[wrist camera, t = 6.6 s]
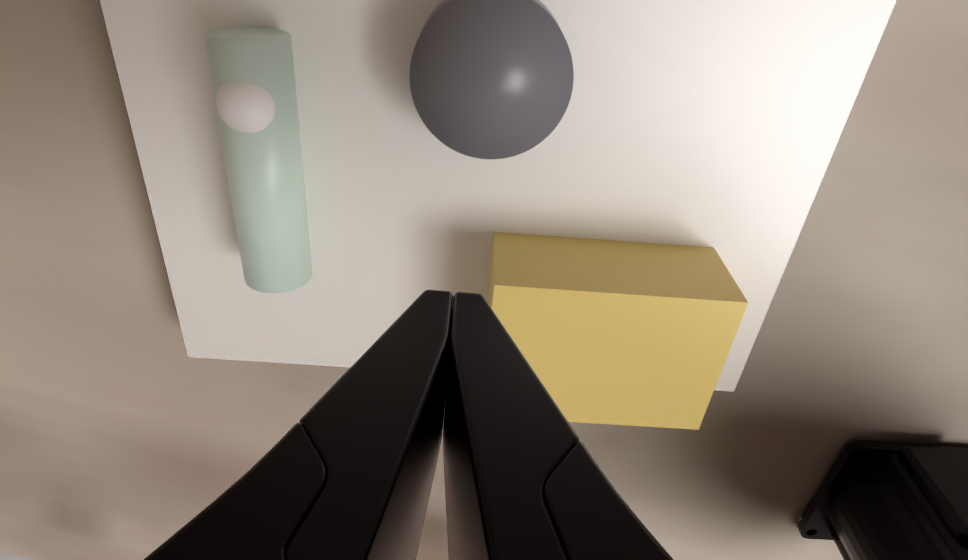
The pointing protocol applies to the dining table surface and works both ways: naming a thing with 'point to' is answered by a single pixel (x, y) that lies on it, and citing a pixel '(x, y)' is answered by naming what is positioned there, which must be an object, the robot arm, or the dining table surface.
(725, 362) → the instrument board
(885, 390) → the dining table surface
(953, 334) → the dining table surface
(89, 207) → the dining table surface
